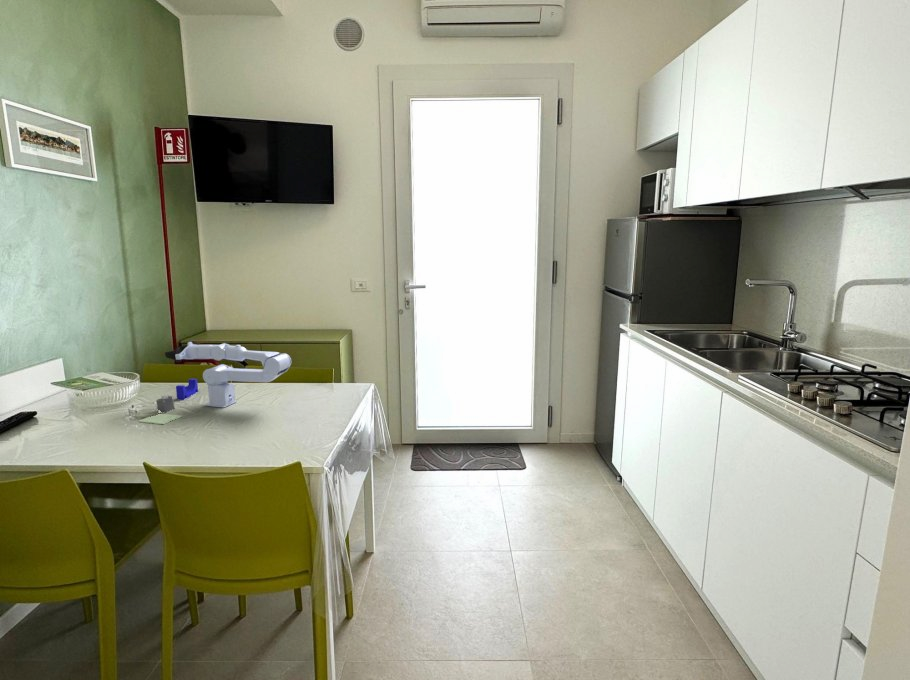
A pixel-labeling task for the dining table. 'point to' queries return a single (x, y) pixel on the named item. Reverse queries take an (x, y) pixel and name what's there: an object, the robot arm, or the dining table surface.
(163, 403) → the dark grey block
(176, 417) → the sage mat
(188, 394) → the blue u-shaped block
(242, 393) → the dining table surface
